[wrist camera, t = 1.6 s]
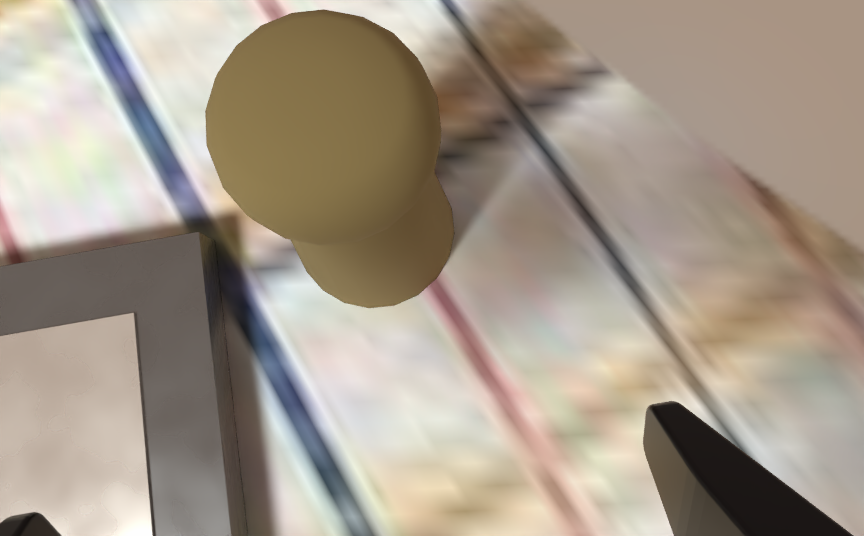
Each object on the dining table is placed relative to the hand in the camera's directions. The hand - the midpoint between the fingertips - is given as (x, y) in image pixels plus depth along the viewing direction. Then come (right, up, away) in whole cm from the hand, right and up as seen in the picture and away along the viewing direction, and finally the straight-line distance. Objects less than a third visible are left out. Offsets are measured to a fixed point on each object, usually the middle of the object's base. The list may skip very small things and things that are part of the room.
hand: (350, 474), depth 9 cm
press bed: (-13, -4, +13) cm, 18 cm away
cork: (-1, +4, +14) cm, 15 cm away
